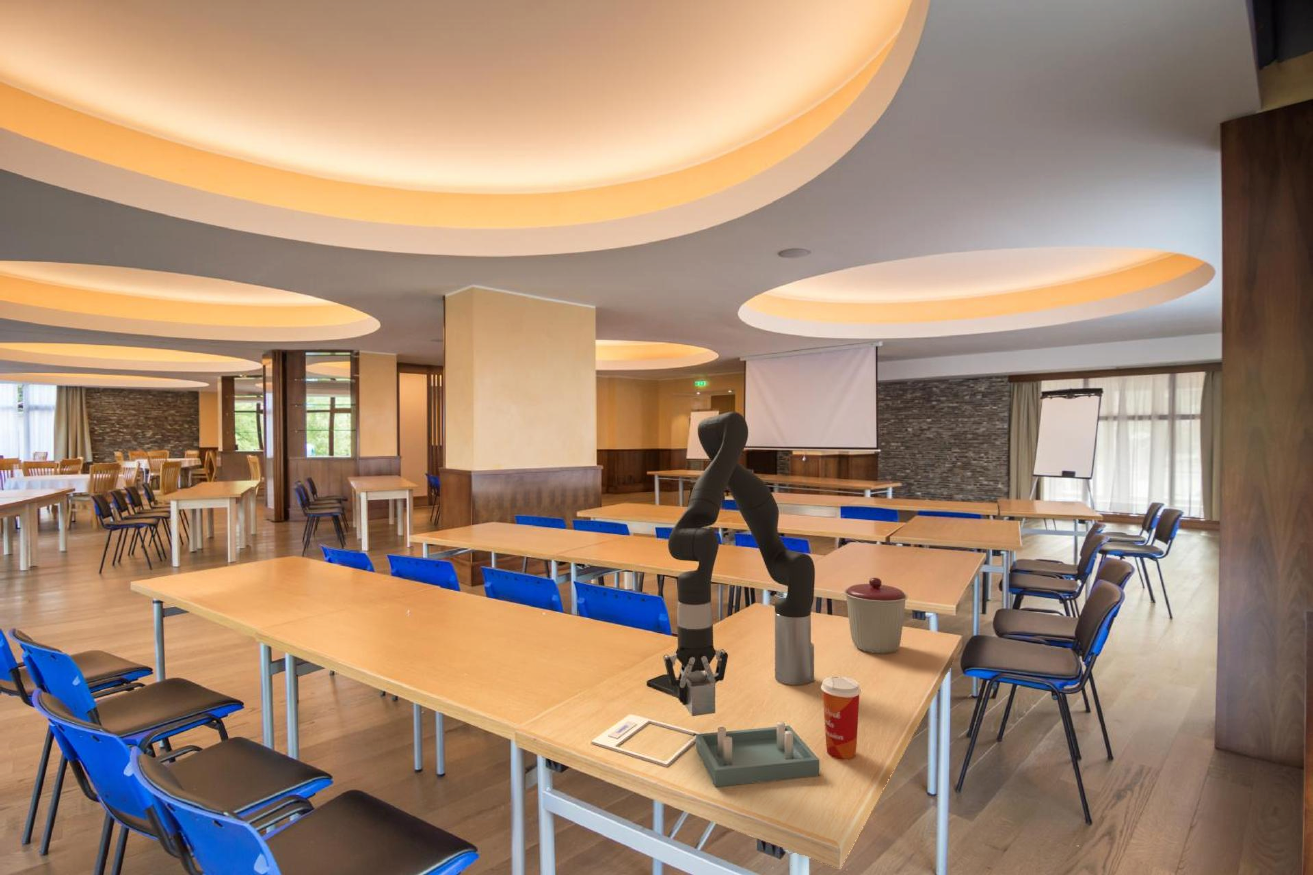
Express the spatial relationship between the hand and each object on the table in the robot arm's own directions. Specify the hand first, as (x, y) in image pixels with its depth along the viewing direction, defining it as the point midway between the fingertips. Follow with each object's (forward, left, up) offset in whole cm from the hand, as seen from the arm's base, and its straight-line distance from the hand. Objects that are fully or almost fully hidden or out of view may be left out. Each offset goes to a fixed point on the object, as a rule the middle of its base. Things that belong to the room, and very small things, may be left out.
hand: (696, 701), depth 132 cm
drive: (0, 0, -1) cm, 1 cm away
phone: (-1, -25, -8) cm, 26 cm away
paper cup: (-26, +13, -7) cm, 30 cm away
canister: (-66, -43, -7) cm, 79 cm away
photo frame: (+11, 0, -8) cm, 13 cm away
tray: (-8, +13, -7) cm, 17 cm away
